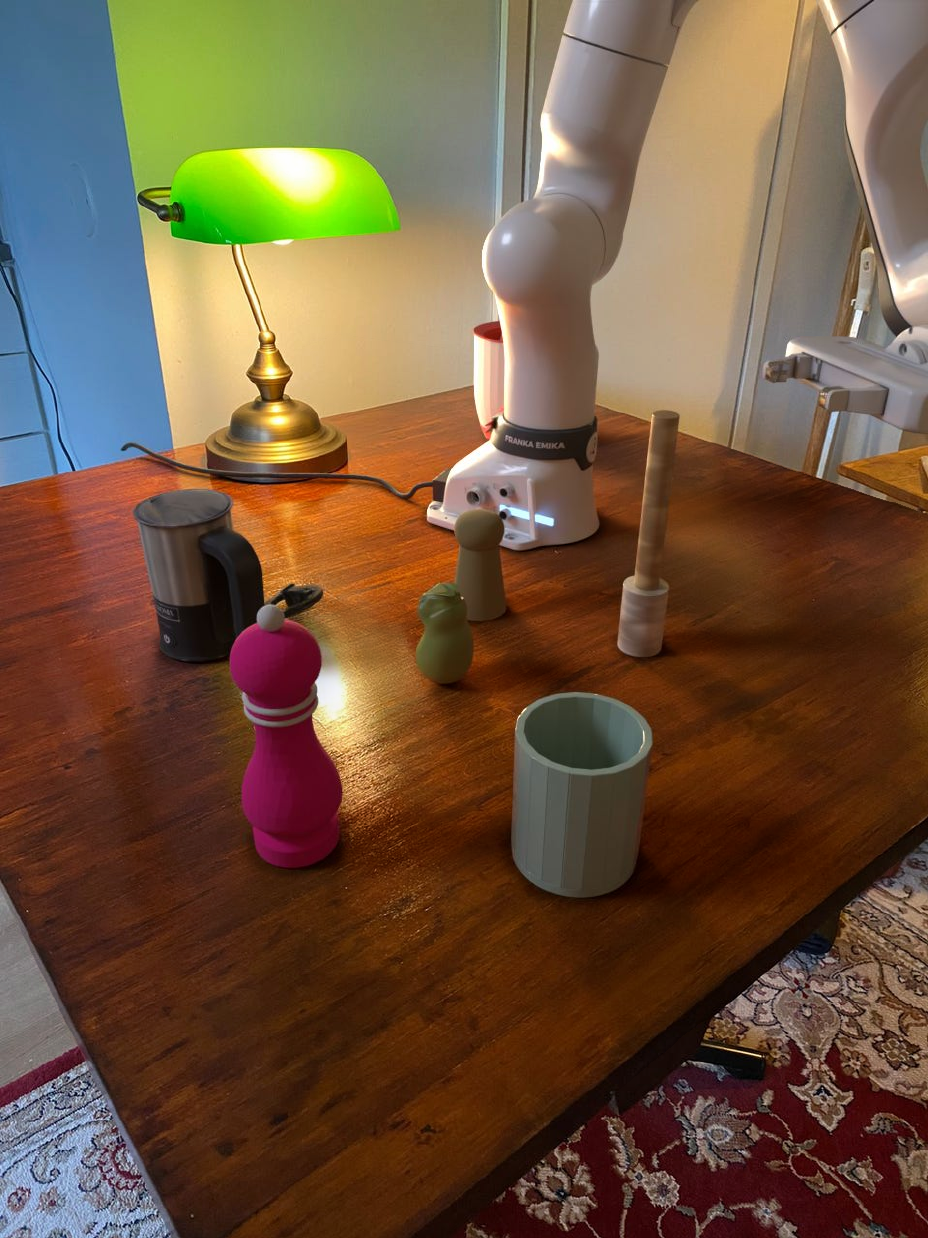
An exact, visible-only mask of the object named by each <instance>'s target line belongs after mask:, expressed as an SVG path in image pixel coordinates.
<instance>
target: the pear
mask: <svg viewBox="0 0 928 1238" xmlns="http://www.w3.org/2000/svg"><path fill="white" fill-rule="evenodd" d="M417 605H418V606H417V616H418V618H419V620H420V621H421V623H423V626H424V632H423V634H422V635H421V638H420V639H419V642H418V643H417V646H416V649H415V653H414V654H415V657H414V658H415V664H416V666H417V669H418V671H419V672H420V674H421V675H422V676H423V677H424V678H425V679H427V680H428V681H430V682H433V683H436V684H439V685H449V684H453V683H456V682H458V681H459V680H461V679H462V678H464V677H465V676H466V675H467V673H468V672H469V670H470V669H471V666H472V662H473V658H474V650H475V649H474V648H475V647H474V646H475V643H474V634H473V630H472V627H471V625H470V623H469V620H467V605H466V602H465V599H464V597H461V596H460V589H459V587H458V586H457V585H456V584H454V582H444V583H442V582H436V583H435V584H434V585H433V586H431V587H430V588H429V589H428V590H427V591H425V592H423V594H421V596H420V598H419V600H418V602H417Z"/></svg>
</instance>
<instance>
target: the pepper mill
mask: <svg viewBox="0 0 928 1238" xmlns="http://www.w3.org/2000/svg"><path fill="white" fill-rule="evenodd" d="M228 662H229V672H230V675H231V679H232V681H233V682H234V684H235V685H236V687H237V688H238V689H239V690H240V691H241V692H242V693H241V699H242V703H243V712H244V714H245V716H246V717H247V719H248V720H250V722H252V724H253V728H254V735H255V736H254V737H255V745H254V750H253V753H252V756H251V758H250V760H249V762H248V765H247V767H246V770H245V773H244V775H243V780H242V784H241V793H240V794H241V807H242V811H243V814H244V817H245V818H246V819H247V821H248V822H249V823H250V824H251V826H252V831H253V832H252V833H253V840H254V844H255V845H254V847H255V850H256V852H257V853H258V855H259V857H260V858H262V860H264V861H266V862H267V863H268V864H271V865H273V866H275V867H279V868H286V869H298V868H303V867H309V866H311V865H314V864H316V863H318V862H320V861H322V860H323V859H325V858H326V857H327V856H329V855H330V854H331V853H332V852H333V850H335V848H336V847H337V845H338V842H339V841H340V840H339V839H340V819H339V813H338V811H339V810H340V807H341V804H342V801H343V795H344V794H343V784H342V780H341V776H340V773H339V770H338V768H337V765H336V764H335V762H334V760H333V758H332V756H331V755H330V754H329V753H328V752H327V749H325V748H324V746H323V745H322V743H321V741H320V740H319V738H318V736H317V734H316V733H317V732H316V731H315V728H314V722H313V714H314V713H315V712H316V710H317V708H318V706H319V697H318V686H317V683H316V681H317V680H318V679H319V676H320V673H321V671H322V667H323V657H322V650H321V648H320V644H319V642H318V640H317V638H316V637H315V635H314V634H313V633H312V632H311V631H310V630H309V629H308V628H307V627H305V626H304V625H302V624H301V623H299V622H297V621H294V620H290V619H285V615H284V613H283V611H282V608H281V607H279V606H278V605H266V606H264V607H262V608H261V609H260V610H259V612H258V614H257V623H256V624H254V625H252V626H250V627H248V628H247V629H245V630H244V631H243V632H242V633H241V634H240V635H239V636H238V637H237V639H236V640H235V642H234V644H233V646H232V649H231V653H230V654H229V661H228Z"/></svg>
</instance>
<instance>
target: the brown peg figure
mask: <svg viewBox="0 0 928 1238" xmlns="http://www.w3.org/2000/svg"><path fill="white" fill-rule="evenodd" d="M504 528H505V527H504V523H503V521H502V519H501V517H500V516H499V515H498V514H497V513H495V512H492V511H490V510H485V509H474V510H469V511H466V512H464V513H462V514H461V515H459V517H458V518H457V520H456V522H455V526H454V530H453V531H454V536H455V539H456V541H457V543H458V544H459V546H458V553H457V560H456V569H455V576H454V582H453V583H454V584H456V585H457V586H458V587H459V589H460V596H461V597H464V599H465V602H466V605H467V621H472V622H487V621H492V620H496V619H497V618H499V617H502V616H503V615H504V614H505V613H506V610H507V601H506V600H507V599H506V593H505V585H504V584H505V583H504V577H503V568H502V559H501V552H500V551H501V550H500V545H499V544H500V542H501V541H502V539H503V535H504Z"/></svg>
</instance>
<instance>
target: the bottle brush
mask: <svg viewBox="0 0 928 1238" xmlns="http://www.w3.org/2000/svg"><path fill="white" fill-rule="evenodd" d="M680 415H681V414H680V413H678V412H676V411H672V410H666V409H661V410H655V411H652V413H651V418H650V419H651V420H650V429H649V437H648V438H649V439H648V447H647V458H646V467H645V476H644V484H643V485H644V486H643V493H642V494H643V495H642V503H641V512H640V513H641V514H640V520H639V531H638V540H637V541H638V542H637V551H636V560H635V568H634V575H631V576H628V577H627V578H625V579H624V581H623V583H622V585H623V586H622V593H621V602H620V611H619V613H620V614H619V624H618V632H617V642H616V643H617V648H618V649H619V650H620V651H621V652H622V653H624V654H625V655H628V656H630V657H635V658H651V657H654V656H656V655H658V654H659V653H660V652H661V651H662V647H663V646H662V645H663V639H664V631H665V623H666V615H667V607H668V600H669V592H670V585H669V583H668V582H667V581H666V580H664V579H663V578H661V571H662V564H663V555H664V548H665V538H666V533H667V532H666V530H667V524H668V523H667V522H668V515H669V506H670V498H671V491H672V490H671V489H672V483H673V482H672V481H673V473H674V464H675V457H676V449H677V440H678V433H679V425H680V418H681V416H680Z"/></svg>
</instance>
